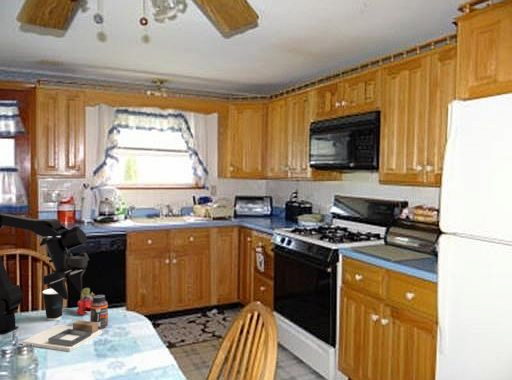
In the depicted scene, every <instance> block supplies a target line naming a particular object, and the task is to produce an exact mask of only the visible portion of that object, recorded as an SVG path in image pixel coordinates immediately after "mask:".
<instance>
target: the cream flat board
mask: <svg viewBox="0 0 512 380" xmlns="http://www.w3.org/2000/svg"><path fill="white" fill-rule="evenodd" d="M67 329H73V325H72V326H71V325H62V324H57V325H54V326H52V327H49V328H47V329H45V330H43V331H42V332H39V333H37V334H34V335H32V336H31V337H28V338H26V339H24V340H22V341H21V344H22V343H30V344H33V345H34V346H33V347H38V348H43V349H51V350H56V351H57V350H58V351H64V352H72V351H73V350H75V349H77V348H78V347H81V346H82V345H84V344H86V343H87V342H90V341H91V340H93V339H95V338H96V337H99V336H100V335H101V334H103V329H98V331H97V332H95V333H94V334H91V336H90V337H88V338H86V339H85V340H83V341H81V342H79V343H77V344H76V345H74V346H65V345H58V344H51V343H48V338H50V337H52V336H55V335H57V334H59V333H61V332H63V331H65V330H67ZM79 336H80V335H73V334H68V335H66V336H64V337H62V338H60V339H63V340H71V341H72V340H74V339H76V338H77V337H79Z"/></svg>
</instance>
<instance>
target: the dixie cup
mask: <svg viewBox="0 0 512 380" xmlns="http://www.w3.org/2000/svg"><path fill="white" fill-rule="evenodd" d="M41 293H42V295H43V302H44V310H45V317H46V319H47V321H48V322H54V321H59V320H61V318H62V316H63V308H64V307H63V306H64V300H65V299H64V298H63V297H62V296H60V295H59V294H58V293H57V292H56V291H55V290H53V289H52V288H47V289H44V290H43V291H41Z"/></svg>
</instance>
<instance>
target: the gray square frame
mask: <svg viewBox="0 0 512 380" xmlns="http://www.w3.org/2000/svg"><path fill="white" fill-rule="evenodd" d="M68 334H73V335H80V336H79V337H77V338H76V339H74V340H72V341H71V340H63V339H60V338H62V337H64V336H66V335H68ZM90 336H91V331H83V330H76V329H67V330H65V331H63V332H61V333H59V334H57V335H55V336H52V337H50V338H48V343H51V344H58V345H65V346H74V345H76V344H77V343H79V342H81V341H83V340H85V339H86V338H88V337H90Z"/></svg>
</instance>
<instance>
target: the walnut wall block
mask: <svg viewBox="0 0 512 380" xmlns="http://www.w3.org/2000/svg"><path fill="white" fill-rule="evenodd" d="M72 327H73V329H76V330H83V331H91V334H94V333H95V332H97V331H98V330H99V329H98V323H97V322H91V321H87V320H79V319H78V320H77V321H74V322H72Z"/></svg>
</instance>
